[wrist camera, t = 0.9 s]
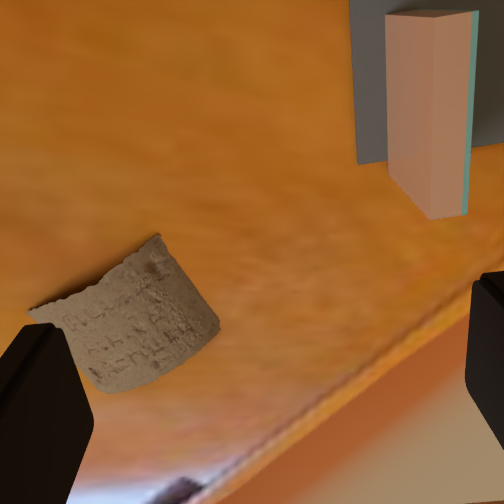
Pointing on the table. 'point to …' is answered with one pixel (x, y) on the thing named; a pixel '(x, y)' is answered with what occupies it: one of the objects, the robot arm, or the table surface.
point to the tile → (431, 106)
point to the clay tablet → (134, 321)
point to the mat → (374, 71)
